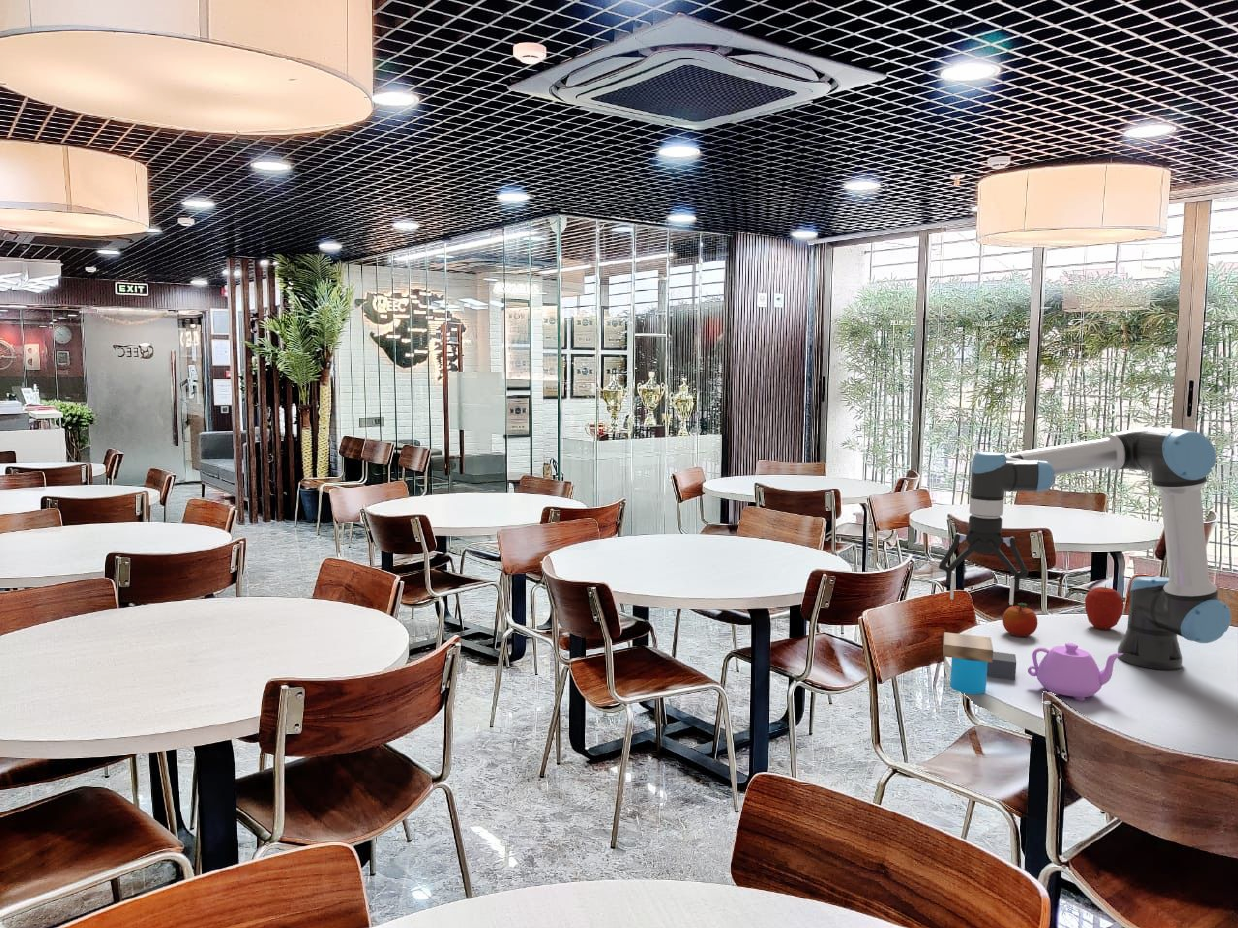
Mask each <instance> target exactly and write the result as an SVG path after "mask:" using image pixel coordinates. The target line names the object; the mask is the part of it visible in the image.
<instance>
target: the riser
mask: <svg viewBox="0 0 1238 928" xmlns="http://www.w3.org/2000/svg"><path fill="white" fill-rule="evenodd" d="M1016 672H1017V657H1016V654H1015V653H1009V652H999V651H993V661H992V662H988V665H987V677H990V678H991V677H992V678H999V679H1000V678H1001V679H1007V680H1013V681H1015V680H1016V674H1017V673H1016Z"/></svg>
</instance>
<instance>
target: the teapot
mask: <svg viewBox="0 0 1238 928" xmlns="http://www.w3.org/2000/svg"><path fill="white" fill-rule="evenodd" d="M1039 652H1043V653H1046V654H1045V655H1044V656H1043V658H1042V659H1041V661H1040V663H1038V659H1037V653H1039ZM1122 654H1123V653H1118V652H1117V653H1112V654H1110V655H1109V656H1108V657H1107V660H1106V664H1105V667H1104V669H1102V670H1100V669H1099V667H1098V664H1097V663H1096V661H1095V659H1094V658H1093V656H1092V655H1091V653H1090V652H1089V651H1087V650H1085V649H1082V648H1079V645H1078V644H1076V643H1071V642H1067V643H1066V642H1065V644H1064V645H1062V646H1061V645H1059V646H1058V645H1057V646H1054V647H1052V648H1051V649H1048V648H1046V647H1037V648H1036V649H1034V650H1033V651H1032V654H1031V659H1032V664H1033V665H1031V666H1028V668H1027V673H1028V674H1029V675H1030V676H1032V677H1036V679H1037V680H1038V682H1039V684H1040V685H1041V687H1043V689H1045V690H1048V692H1049V691H1050V692H1052V693H1054V694H1056V695H1057V696H1059V695H1063V696H1069V697H1074V698H1073V699H1074V700H1075V701H1076V700H1077V701H1079V702H1085V701H1086V697H1087V698H1088V697H1092V696H1094V695H1095V694H1096V693H1098V692H1099V691H1100V690H1101V688H1102V686H1104V685H1106V684H1107V683H1108V682H1109V681H1110V680H1111V678H1112V677H1113V676H1112V675H1113V670H1114V665H1115V662H1116V660H1117V659H1118V657H1119V656H1120V655H1122ZM1032 669H1033V670H1034V671H1032ZM1057 696H1056V697H1057Z"/></svg>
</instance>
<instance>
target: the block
mask: <svg viewBox="0 0 1238 928" xmlns="http://www.w3.org/2000/svg"><path fill="white" fill-rule="evenodd" d="M942 641H943V642H942V645H943V646H942V651H943V658H944V657H945V658H951V659H952V658H960V659H968V660H976V661H984V662H992V661H993V652H994V647H993V643H992V637H991V636H981V635H973V634H972V635H971V634H965V633H963V634H962V633H954V632H943V640H942Z"/></svg>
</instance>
